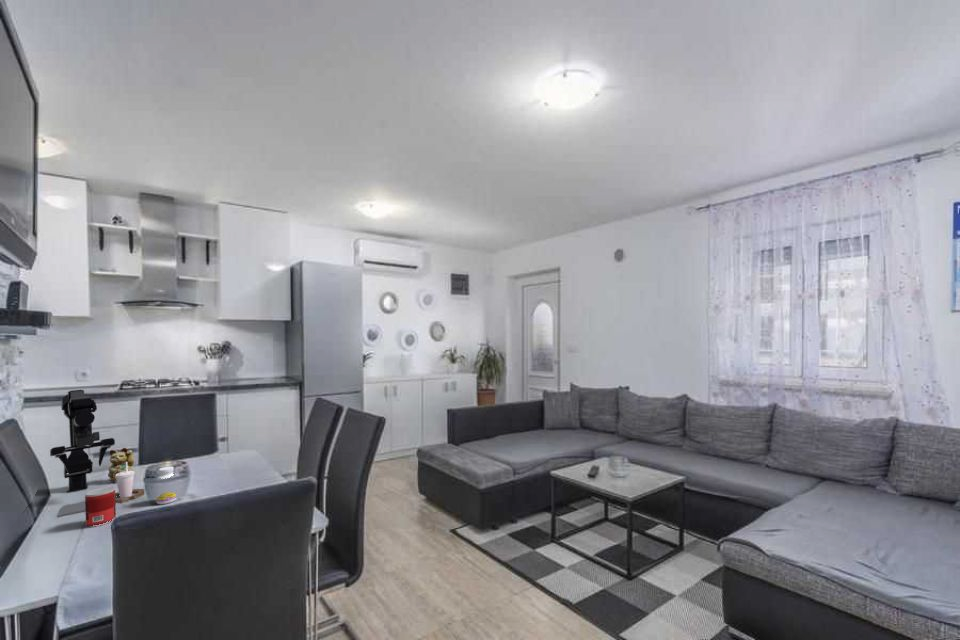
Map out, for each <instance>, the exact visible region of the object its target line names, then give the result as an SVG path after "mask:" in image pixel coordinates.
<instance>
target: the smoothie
mask: <svg viewBox="0 0 960 640" xmlns="http://www.w3.org/2000/svg"><path fill="white" fill-rule="evenodd" d="M134 474H136V470H135V471H128V468H127V462H126V471H125V472H120V473H118V474H116V475H115V478H116V480H117V483H116V484H117V489H118V492H119V495H120V496H119V498H124V497H129V496H132V495H133V493H132V489H134V488H133V487H134V480H135V476H134Z"/></svg>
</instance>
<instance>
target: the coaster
mask: <svg viewBox="0 0 960 640" xmlns="http://www.w3.org/2000/svg"><path fill="white" fill-rule="evenodd" d="M83 512H86V511H85V500H84V501H80V502H76V503H70V504H65V505H62V507H61V509H60V511H59V513H58V515H57V517H58V516H61V517H65V516H64V515H66V516H69V515H74V514H79V513H83Z"/></svg>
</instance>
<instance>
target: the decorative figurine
mask: <svg viewBox="0 0 960 640" xmlns="http://www.w3.org/2000/svg"><path fill="white" fill-rule="evenodd" d="M109 455H110V456H109V457H110V458H109V462H110V463H111V465H109V468H108V473H107V476H108V478H109V481H110V482H117V480H116V478H115V475H116V474H118V473H120V472H125V471H126V462H127V468H128V471H135V472H136V469H135V468H134V467H133V465H134V463H135V458H134V454H133V450H131V449H130V450H128V448H127V447H123V448H121V450H120V451H117V450H116V449H112V450H110V451H109ZM135 474H136V473H135ZM135 474H134V477H135V476H136V475H135Z"/></svg>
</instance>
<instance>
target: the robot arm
mask: <svg viewBox="0 0 960 640" xmlns="http://www.w3.org/2000/svg"><path fill="white" fill-rule="evenodd" d="M60 404H61V406H60V407H61V411H63V415H64V416H65V417H66V418H67V419H68V428H69V446H67V447H66V446H65V445H63V446H56V447H52V448H51V449H50V450H49V457H54V459H57V458H58V459H59V460H60V461H61V462H62V464H63V466H64V467H63V477H64V479H68V489H67V490H66V493H71V492H76V491H81V490H87V489H88V487H89V483H87V480H88V479H87V474H91V473H93V465H94V462H93V461H92V460H91V458H90V456H89V454H88V453H87V452H86V451H85V450H87V449H91V448H97V447H98V448H99V447H100V448H99V454H98V466H99V467H101V466H102V463H103V460H104V457H105V455H106V452H107V450H108V449H110V448H111V447H112V446H115V445H116V441H115V438H114V437H110V438H104V439H103V438H102V439H100V437H101V436H100V431H95V432H93V425H92V424H93V423H94V421H95V417H96V416H95V414H94V413H95V412H96V411H97V410H98V407H97V403H96V401H95V400H94V399H92V396H88V395H87V394H86V393H85V390H84V389H75V390H69V391H67V394H66V395H65V396H63V397H62V398H61V402H60ZM69 452H70V454H69V455H68V454H67V453H69ZM67 455H68V456H67Z"/></svg>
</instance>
